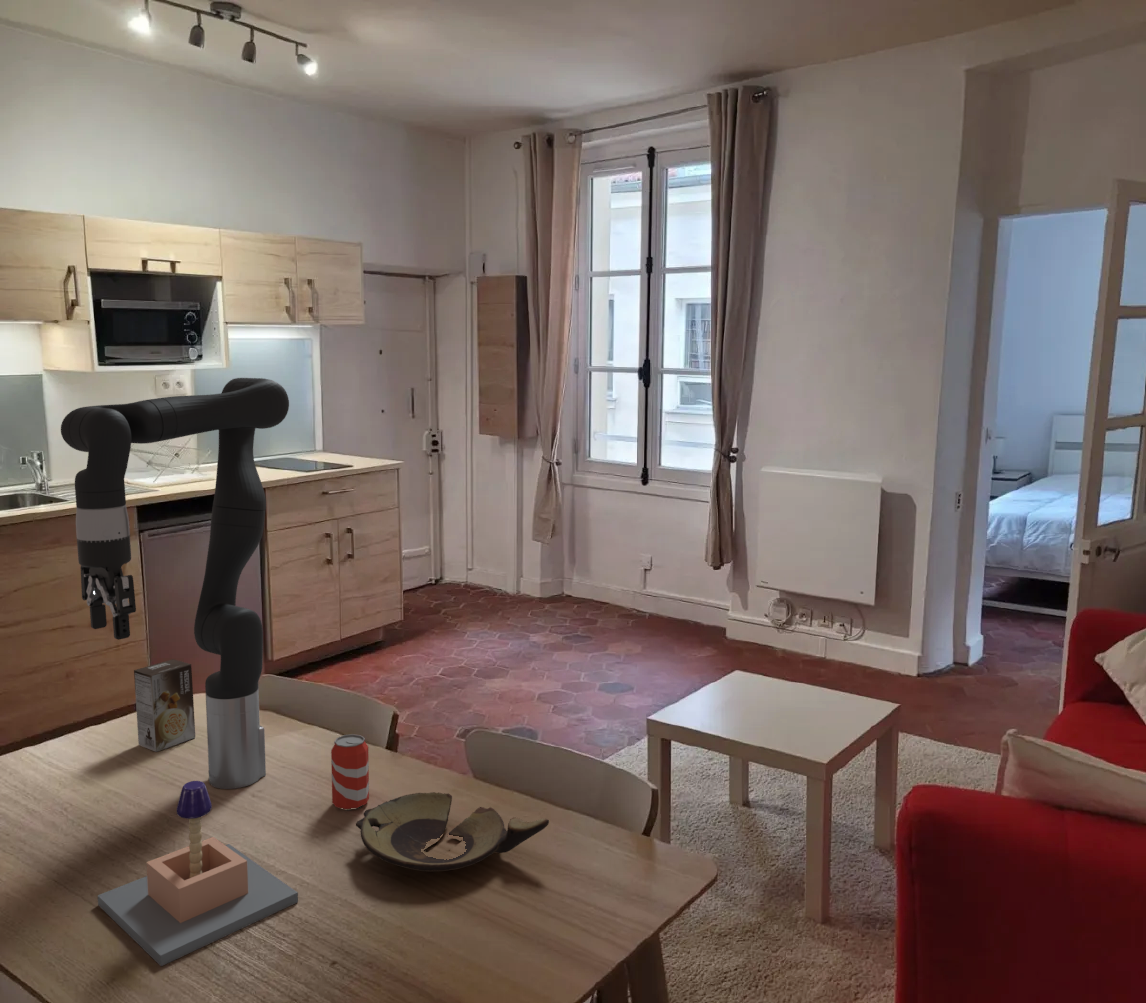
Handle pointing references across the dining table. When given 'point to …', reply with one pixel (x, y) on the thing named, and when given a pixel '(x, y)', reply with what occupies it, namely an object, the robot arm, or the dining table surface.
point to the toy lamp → (194, 819)
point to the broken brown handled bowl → (438, 832)
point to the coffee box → (164, 704)
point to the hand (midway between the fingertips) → (110, 632)
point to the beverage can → (350, 772)
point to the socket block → (195, 900)
